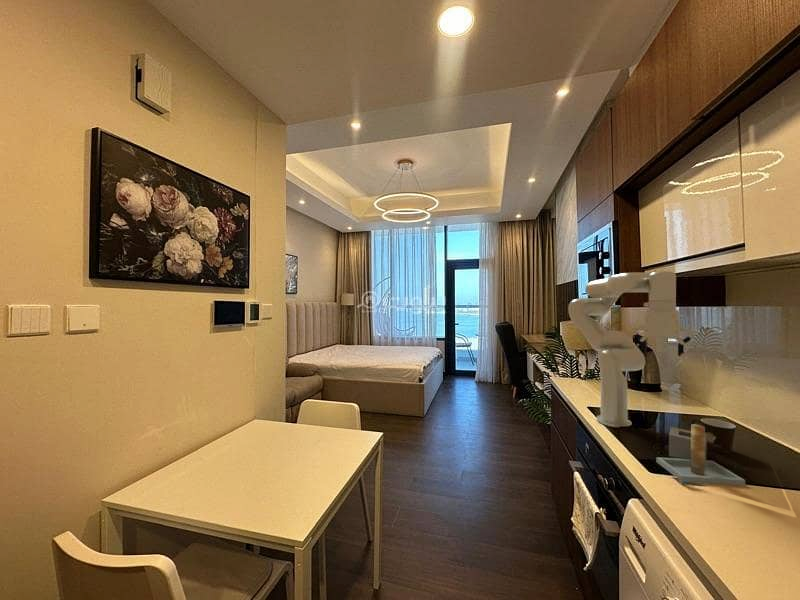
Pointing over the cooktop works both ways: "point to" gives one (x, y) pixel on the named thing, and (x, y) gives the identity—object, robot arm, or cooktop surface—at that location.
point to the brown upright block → (698, 449)
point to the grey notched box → (681, 443)
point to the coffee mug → (718, 435)
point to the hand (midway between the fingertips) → (661, 354)
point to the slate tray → (712, 475)
